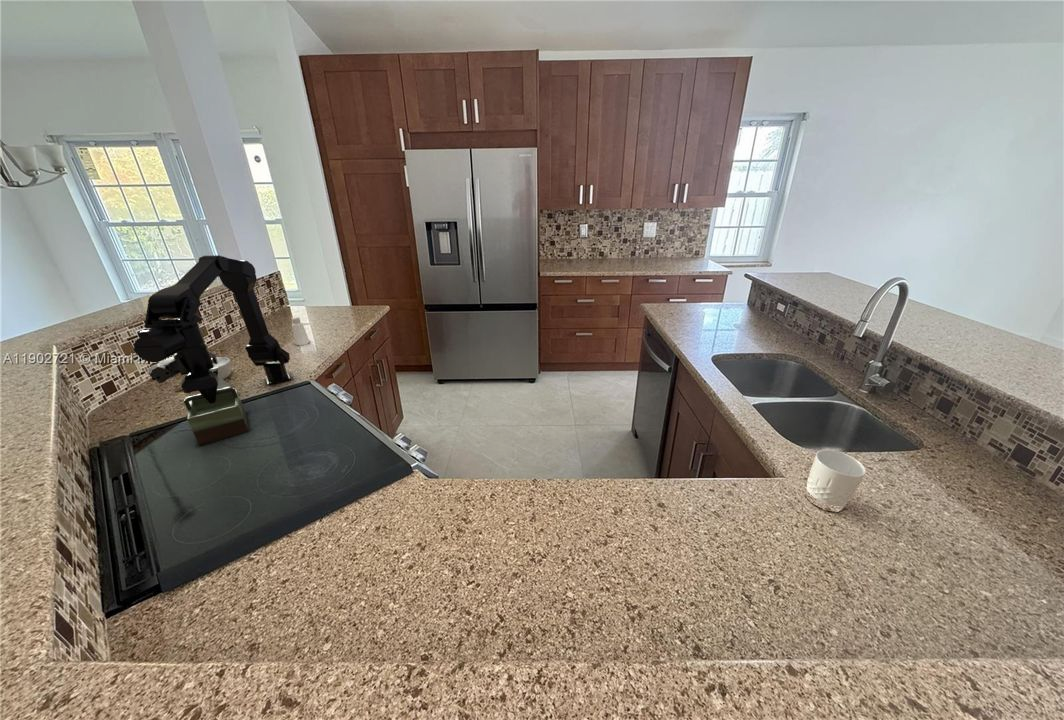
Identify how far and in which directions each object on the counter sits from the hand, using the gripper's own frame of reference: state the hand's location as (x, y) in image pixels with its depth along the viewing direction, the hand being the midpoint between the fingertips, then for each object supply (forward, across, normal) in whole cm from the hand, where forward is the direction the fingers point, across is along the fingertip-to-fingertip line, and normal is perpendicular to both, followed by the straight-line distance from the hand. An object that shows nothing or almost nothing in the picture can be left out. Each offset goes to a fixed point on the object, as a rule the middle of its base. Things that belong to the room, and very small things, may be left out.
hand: (212, 400), depth 95 cm
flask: (+9, -20, 0) cm, 22 cm away
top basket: (+5, 0, 0) cm, 5 cm away
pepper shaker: (+9, -56, +27) cm, 63 cm away
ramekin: (+9, -39, -2) cm, 40 cm away
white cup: (+9, +108, +97) cm, 145 cm away
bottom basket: (+9, 0, 0) cm, 9 cm away
